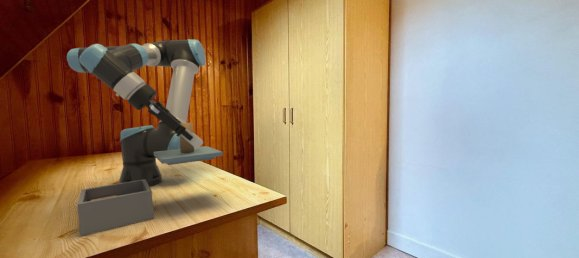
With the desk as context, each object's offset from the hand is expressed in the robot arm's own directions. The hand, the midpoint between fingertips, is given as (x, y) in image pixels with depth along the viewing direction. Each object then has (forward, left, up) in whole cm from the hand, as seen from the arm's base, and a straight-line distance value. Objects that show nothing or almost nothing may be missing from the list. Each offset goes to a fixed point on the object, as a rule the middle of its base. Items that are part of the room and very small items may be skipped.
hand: (200, 144), depth 83 cm
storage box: (-3, -23, -19) cm, 30 cm away
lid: (-1, -4, -3) cm, 5 cm away
